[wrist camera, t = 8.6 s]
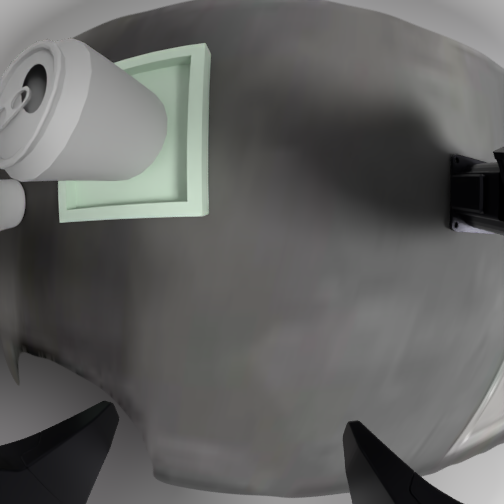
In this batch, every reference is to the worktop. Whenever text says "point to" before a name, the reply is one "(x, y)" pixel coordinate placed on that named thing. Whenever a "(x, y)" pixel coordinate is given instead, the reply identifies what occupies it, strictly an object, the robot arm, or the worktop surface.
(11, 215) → the drinking glass
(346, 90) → the worktop surface
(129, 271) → the worktop surface
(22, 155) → the can
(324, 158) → the worktop surface
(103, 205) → the tray
